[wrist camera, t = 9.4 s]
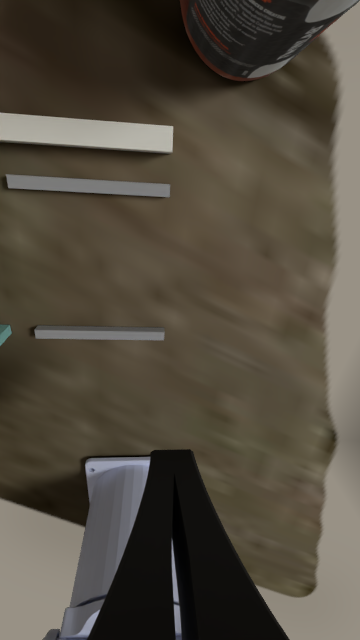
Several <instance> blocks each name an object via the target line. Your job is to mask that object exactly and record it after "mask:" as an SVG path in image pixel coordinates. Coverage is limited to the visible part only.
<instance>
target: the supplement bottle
mask: <svg viewBox="0 0 360 640" xmlns="http://www.w3.org/2000/svg"><path fill="white" fill-rule="evenodd" d="M358 2H359V0H180V5H181V12H182V17H183V21H184V26H185V29H186V32H187V35H188V37H189V40H190V42H191V44H192V46H193V47H194V49H195V51H196V52H197V54H198V55H199V57H200V58H201V59H202V60H203V62H204V63H205V64H206V65H207V66H208V67H209V68H211V69H212V70H213V71H214V72H216V73H218V74H219V75H221V76H223V77H226V78H228V79H231V80H236V81H252V80H257V79H260V78H263V77H265V76H268V75H269V74H271V73H273V72H275V71H276V70H278V69H279V68H281V67H282V66H284V65H285V64H287V63H288V62H289V61H290V60H291V59H293V58H294V57H296V56H297V55H298V53H299V52H301V51H302V50H303V49H304V48H305V47H307V46H308V45H309V44H310V43H311V42H312V41H313V40H315V39H316V38H317V37H318V36H319V35H320V34H321V33H322V32H323V31H324V30H326V29H327V28H328V27H329V26H330V25H331V24H333V23H334V22H335V21H336V20H337V19H339V18H340V17H341V16H342V15H343V14H344V13H346V12H347V11H348V10H349V9H350V8H352V7H353V6H354V5H355V4H357V3H358Z"/></svg>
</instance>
